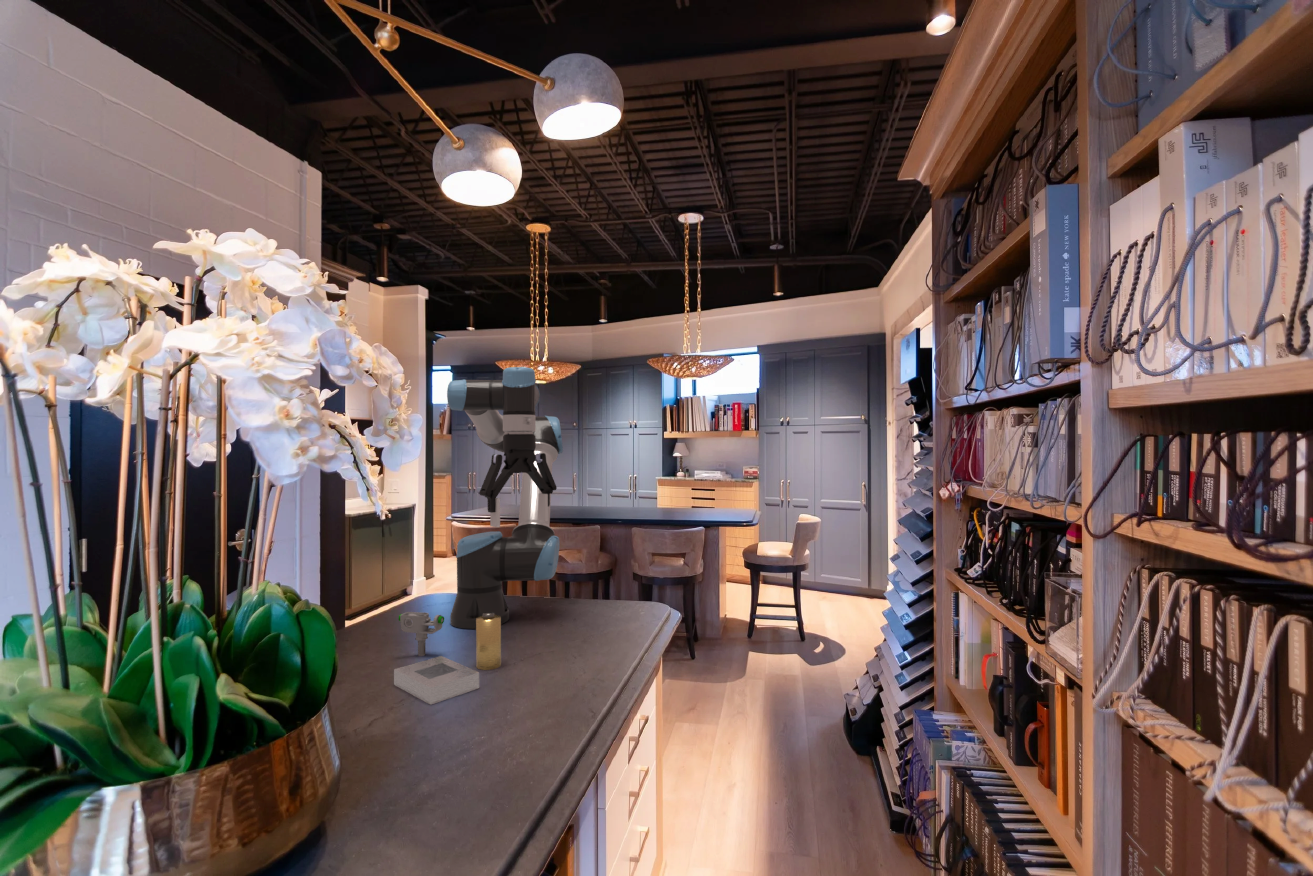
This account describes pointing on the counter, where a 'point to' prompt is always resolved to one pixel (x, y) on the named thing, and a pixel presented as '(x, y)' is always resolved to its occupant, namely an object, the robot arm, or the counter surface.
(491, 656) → the brass capped cylinder
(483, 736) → the counter surface
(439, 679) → the housing
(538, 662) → the counter surface
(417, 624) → the mechanical component
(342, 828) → the counter surface
